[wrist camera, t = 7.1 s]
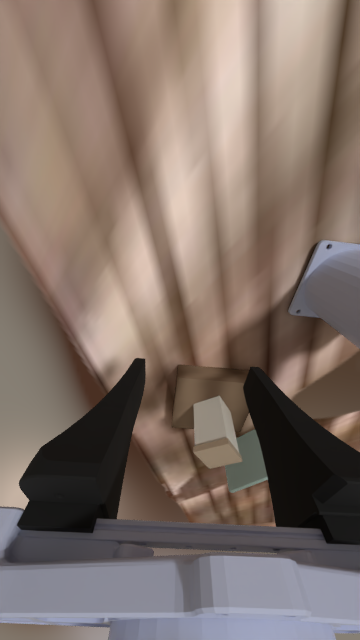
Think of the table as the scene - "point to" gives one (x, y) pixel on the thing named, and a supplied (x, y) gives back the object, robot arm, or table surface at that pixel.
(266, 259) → the table surface
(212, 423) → the beige rectangular block
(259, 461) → the l-shaped corner panel
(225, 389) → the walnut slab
